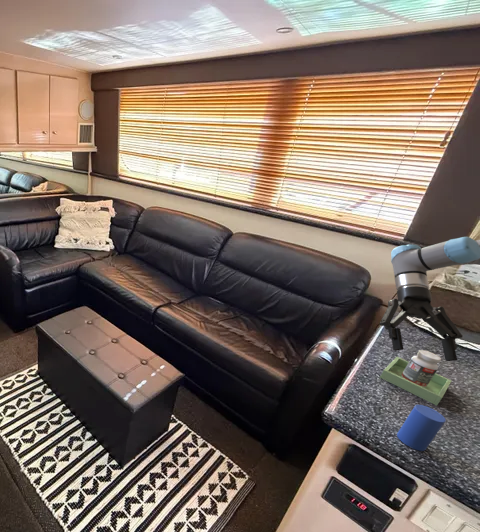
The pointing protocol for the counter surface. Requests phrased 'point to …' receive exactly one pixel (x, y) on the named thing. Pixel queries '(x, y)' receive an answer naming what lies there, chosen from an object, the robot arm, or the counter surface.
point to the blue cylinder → (420, 427)
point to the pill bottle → (421, 368)
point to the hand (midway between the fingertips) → (424, 355)
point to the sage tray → (429, 393)
